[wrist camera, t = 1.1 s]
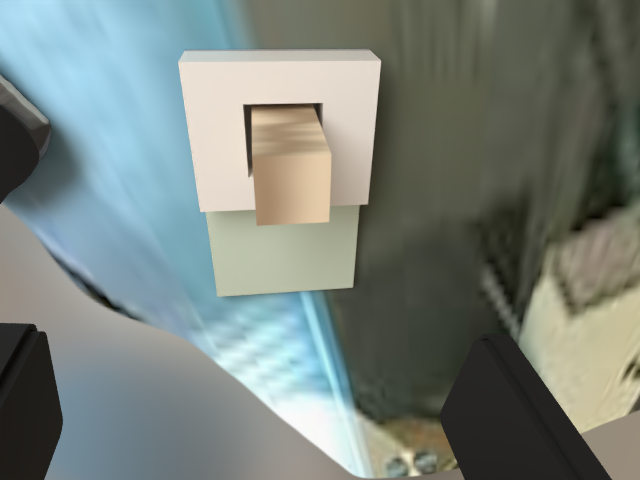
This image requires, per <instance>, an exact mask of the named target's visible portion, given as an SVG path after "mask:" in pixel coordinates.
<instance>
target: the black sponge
mask: <svg viewBox="0 0 640 480" xmlns="http://www.w3.org/2000/svg"><path fill="white" fill-rule="evenodd" d="M51 131H52V130H51V125H50V122H49V120H48V119H47V118H46V117H45V116H44V115H42V114H41V113H40V112H39V110H38V109H37V108H36V107H35V106H33V105H32V104H31V103H30V102H29V101H28V100H26V99H25V98H24V97H23V96H22V95H21V93H20V92H19V91H18V90H16V89H15V87H14V86H13V85H12V84H11V83H10V82H8V81H7V80H5V79H4V78H3V77H2V76H1V75H0V204H1V203H2V201H3V200H4V199H5V198H6V197H7V195H8V194H9V193H10V192H11V191H13V190H14V189H15V188H17V187H18V186H19V185H21V184H22V183H23V182H24V181H25V180H26V179H27V178H28V177H29V176H30V174H31V173H32V171H33V170H34V168H35V167H36V165H37V164H38V162H39V161H40V160H41V158H42V157H43V156H44V155H45V153H46V151H47V149H48V146H49V142H50V139H51Z"/></svg>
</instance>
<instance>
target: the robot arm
mask: <svg viewBox="0 0 640 480" xmlns="http://www.w3.org/2000/svg"><path fill="white" fill-rule="evenodd" d="M440 420H441V424H442V427H443V430H444V432H445V434H446V437H447V439H448V441H449V444H450V446H451V448H452V451H453V453H454V456H455V458H456V460H457V463H458V465H459V467H460V470H461V472H462V474H463V477H464V479H465V480H612V479H611V478H610V476H609V475H608V473H607V472H606V471H605V469H604V468H603V466H602V465H601V463H600V462H599V461H598V459H597V458H596V456H595V455H594V453H593V452H592V451H591V449H590V448H589V446H588V445H587V443H586V442H585V441H584V439H583V438H582V436H581V435H580V434H579V432H578V431H577V429H576V428H575V426H574V425H573V424H572V422H571V421H570V419H569V418H568V416H567V415H566V414H565V412H564V411H563V409H562V408H561V407H560V405H559V404H558V402H557V401H556V399H555V398H554V397H553V395H552V394H551V392H550V391H549V389H548V388H547V387H546V385H545V384H544V382H543V381H542V380H541V378H540V377H539V375H538V374H537V372H536V371H535V370H534V368H533V367H532V365H531V364H530V362H529V361H528V360H527V358H526V357H525V355H524V354H523V353H522V351H521V350H520V348H519V347H518V345H517V344H516V343H515V341H514V340H513V339H512V338H511V336H509V335H507V334H483V335H482V336H481V337H480V338H479V340H476V341H475V342H474V343H473V345H472V347H471V349H470V351H469V353H468V355H467V358H466V360H465V362H464V364H463V366H462V368H461V370H460V372H459V374H458V376H457V378H456V380H455V383H454V385H453V387H452V389H451V391H450V393H449V395H448V397H447V399H446V401H445V403H444V405H443V407H442V410H441V414H440ZM62 425H63V417H62V412H61V406H60V401H59V396H58V391H57V386H56V381H55V376H54V370H53V365H52V360H51V355H50V350H49V344H48V340H47V335H46V333H45V332H38V331H37V328H36V326H35V325H34V324H16V323H0V480H44V478H45V476H46V473H47V470H48V468H49V465H50V462H51V460H52V457H53V454H54V451H55V449H56V446H57V443H58V440H59V438H60V434H61V431H62Z"/></svg>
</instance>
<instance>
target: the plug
mask: <svg viewBox="0 0 640 480" xmlns="http://www.w3.org/2000/svg"><path fill="white" fill-rule="evenodd" d="M251 105H252V164H253V179H254V194H255V208H256V223H257V226H262V225H282V224H302V223H322V222H329V212H330V185H331V159H332V155H331V152H330V149H329V147H328V144H327V141H326V139H325V136H324V133H323V131H322V128H321V125H320V123H319V120H318V117H317V115H316V112H315V109H314V107H313V104H312V103H290V104H251Z"/></svg>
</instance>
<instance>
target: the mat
mask: <svg viewBox="0 0 640 480" xmlns="http://www.w3.org/2000/svg"><path fill="white" fill-rule="evenodd" d="M359 206H360V205H343V206H330V212H329V222H322V223H302V224H282V225H262V226H257V223H256V210H235V211H213V212H206V217H207V224H208V231H209V238H210V246H211V253H212V260H213V267H214V274H215V281H216V288H217V295H218V297H221V296H236V295H251V294H265V293H280V292H295V291H309V290H324V289H338V288H353V281H354V268H355V256H356V243H357V231H358V219H359Z"/></svg>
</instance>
